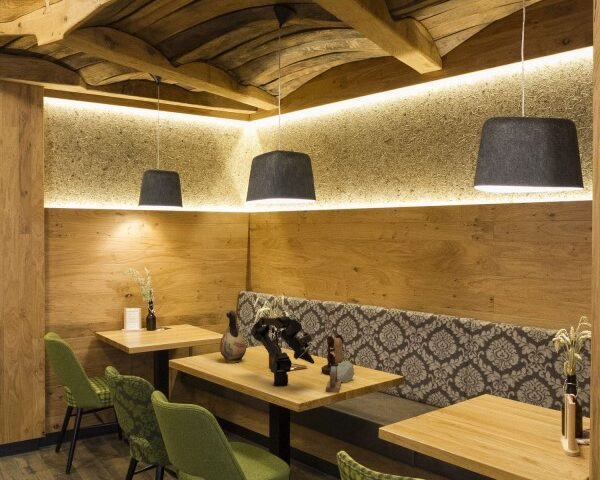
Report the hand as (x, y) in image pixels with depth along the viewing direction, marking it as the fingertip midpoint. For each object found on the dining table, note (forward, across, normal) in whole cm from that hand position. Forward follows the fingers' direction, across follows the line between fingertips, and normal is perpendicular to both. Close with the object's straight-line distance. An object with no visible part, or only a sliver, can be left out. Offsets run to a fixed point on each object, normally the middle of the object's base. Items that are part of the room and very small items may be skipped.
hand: (313, 363), depth 293 cm
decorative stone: (+17, +17, 0) cm, 24 cm away
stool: (+15, 0, +2) cm, 15 cm away
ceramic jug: (-29, +55, +46) cm, 78 cm away
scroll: (+14, +34, +3) cm, 37 cm away
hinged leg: (+12, 0, 0) cm, 12 cm away
